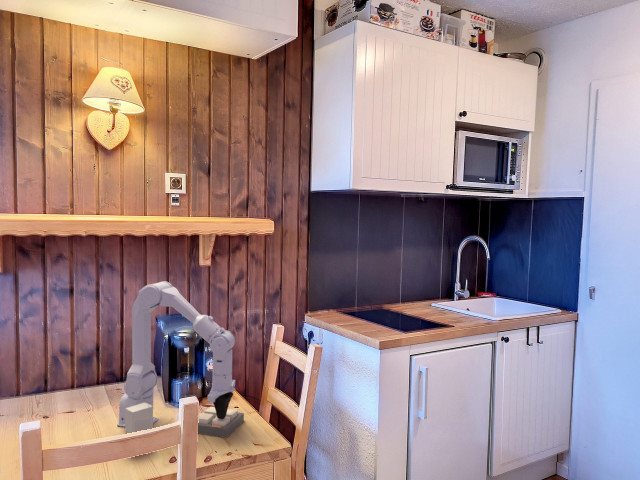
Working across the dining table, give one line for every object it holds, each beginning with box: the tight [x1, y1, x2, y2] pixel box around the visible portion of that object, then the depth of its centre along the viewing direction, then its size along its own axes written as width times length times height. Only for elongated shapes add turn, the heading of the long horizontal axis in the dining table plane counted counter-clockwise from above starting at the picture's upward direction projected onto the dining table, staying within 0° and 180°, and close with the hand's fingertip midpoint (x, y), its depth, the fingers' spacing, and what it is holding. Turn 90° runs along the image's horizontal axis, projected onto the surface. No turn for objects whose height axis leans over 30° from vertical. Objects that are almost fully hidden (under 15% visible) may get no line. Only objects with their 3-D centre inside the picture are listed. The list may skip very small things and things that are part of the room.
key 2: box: [203, 406, 217, 417], centre depth 148 cm, size 4×4×2 cm
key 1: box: [198, 412, 214, 424], centre depth 143 cm, size 4×4×2 cm
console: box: [197, 411, 245, 438], centre depth 145 cm, size 12×12×3 cm
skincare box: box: [124, 402, 154, 435], centre depth 128 cm, size 6×4×12 cm
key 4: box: [226, 408, 239, 420], centre depth 147 cm, size 4×4×2 cm
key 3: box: [212, 416, 230, 427], centre depth 142 cm, size 4×4×2 cm
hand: (221, 417), depth 142 cm, fingers closed
